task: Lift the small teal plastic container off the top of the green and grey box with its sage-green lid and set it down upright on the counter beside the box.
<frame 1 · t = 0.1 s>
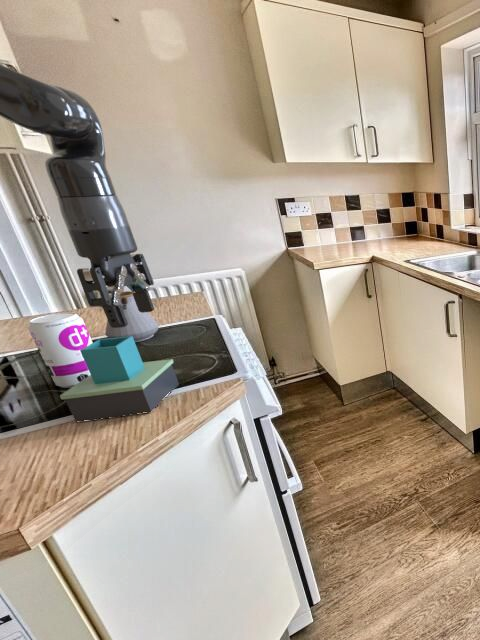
hand: (134, 318, 75), 19 cm above the worktop, tool pointing down, fingers open, 8 cm apart
green and grey box: (131, 402, 85), on the worktop, touching teal container
teal container: (120, 375, 83), point 6 cm above the worktop, touching green and grey box
supplement can: (82, 381, 95), on the worktop
coffee pot: (139, 343, 116), on the worktop
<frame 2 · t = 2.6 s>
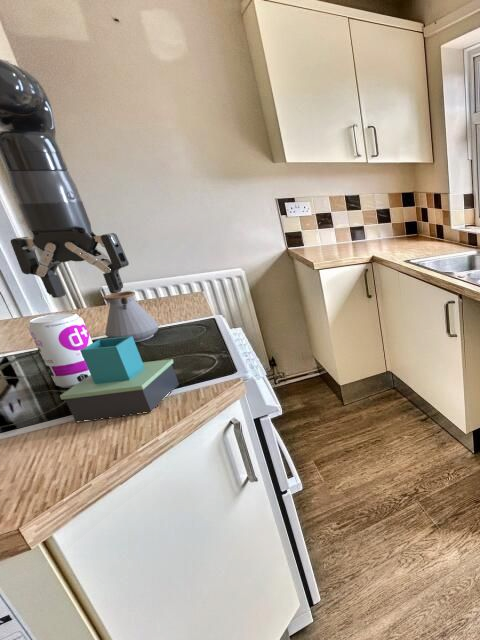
hand: (88, 294, 76), 23 cm above the worktop, tool pointing down, fingers open, 8 cm apart
nothing on the worktop moved.
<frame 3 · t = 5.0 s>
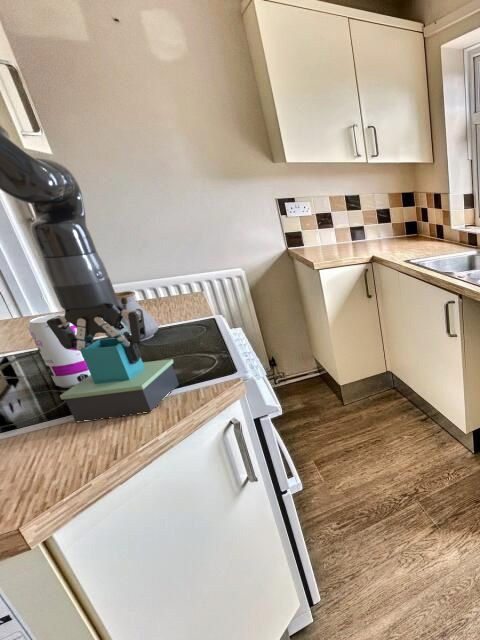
hand: (115, 364, 82), 9 cm above the worktop, tool pointing down, fingers closed on teal container, 5 cm apart
teal container: (120, 375, 83), point 6 cm above the worktop, touching green and grey box, gripper
everything else where it was.
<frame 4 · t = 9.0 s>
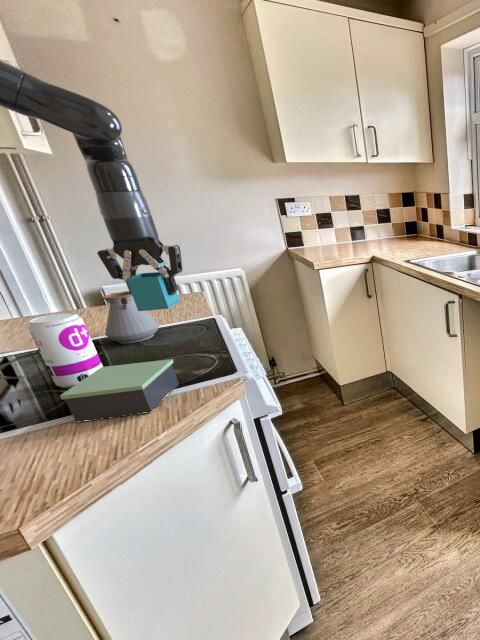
hand: (155, 295, 91), 18 cm above the worktop, tool pointing down, fingers closed on teal container, 5 cm apart
green and grey box: (131, 402, 85), on the worktop
teal container: (159, 306, 92), point 16 cm above the worktop, touching gripper
everything else where it was.
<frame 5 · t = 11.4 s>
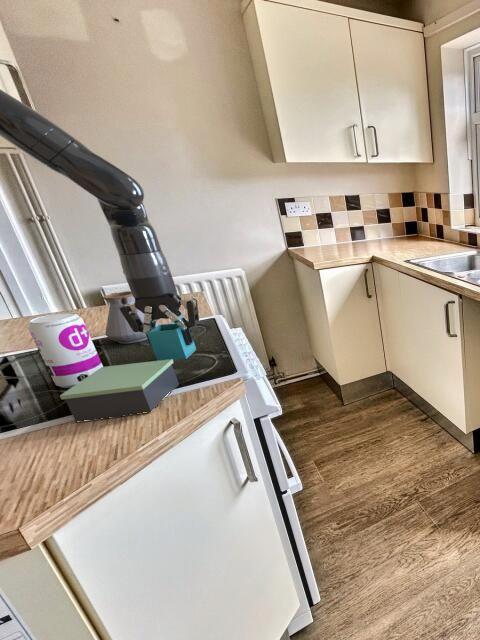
hand: (174, 345, 96), 6 cm above the worktop, tool pointing down, fingers closed on teal container, 5 cm apart
teal container: (177, 355, 97), point 4 cm above the worktop, touching gripper
everything else where it was.
when the fingers open (2 cm above the worktop, at t = 12.9 s): teal container stays where it is, on the worktop.
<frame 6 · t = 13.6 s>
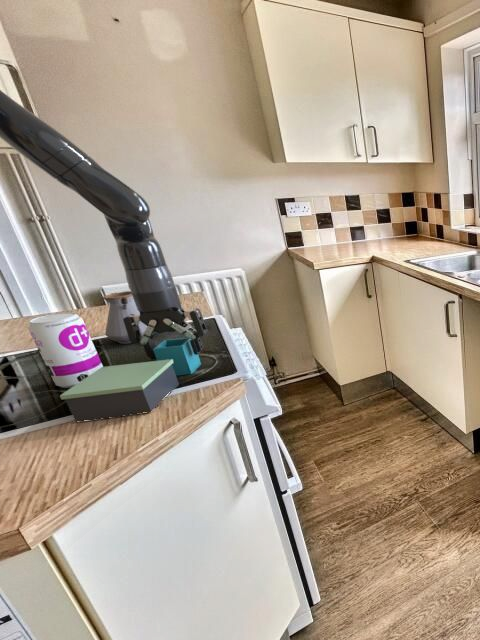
hand: (176, 355, 97), 4 cm above the worktop, tool pointing down, fingers open, 8 cm apart
teal container: (183, 370, 98), on the worktop
everything else where it was.
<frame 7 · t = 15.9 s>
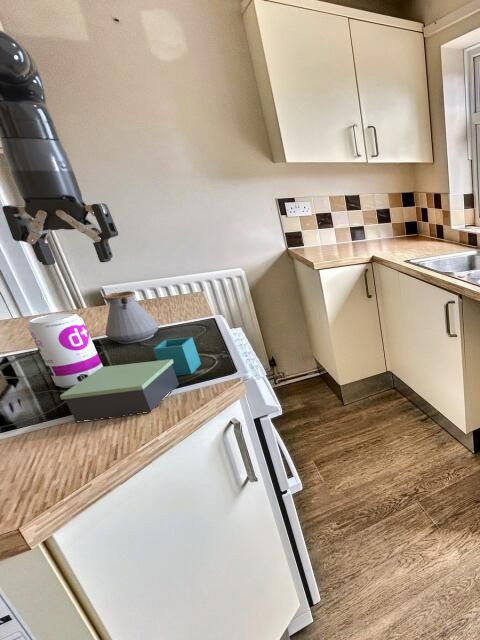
hand: (78, 263, 78), 28 cm above the worktop, tool pointing down, fingers open, 8 cm apart
nothing on the worktop moved.
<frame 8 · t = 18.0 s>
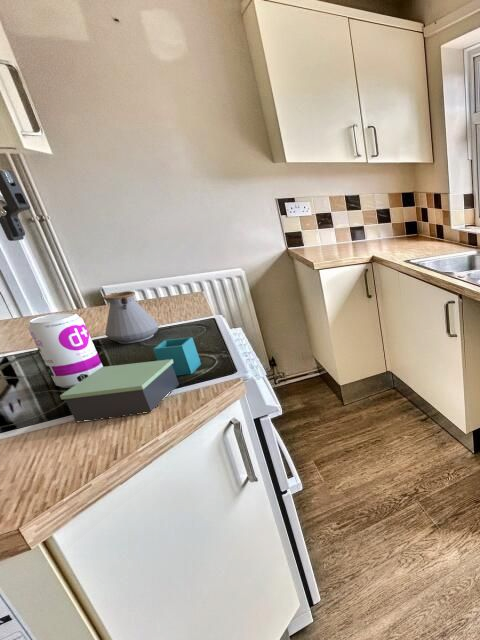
nothing on the worktop moved.
at the end: teal container inside the target area (0.1 cm from its centre), on the worktop; teal container tilted 0°; green and grey box moved 0.0 cm from its start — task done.
